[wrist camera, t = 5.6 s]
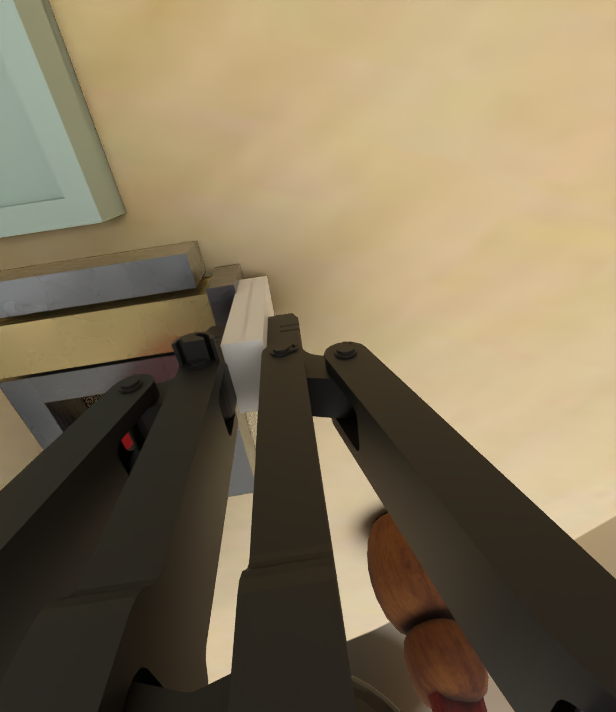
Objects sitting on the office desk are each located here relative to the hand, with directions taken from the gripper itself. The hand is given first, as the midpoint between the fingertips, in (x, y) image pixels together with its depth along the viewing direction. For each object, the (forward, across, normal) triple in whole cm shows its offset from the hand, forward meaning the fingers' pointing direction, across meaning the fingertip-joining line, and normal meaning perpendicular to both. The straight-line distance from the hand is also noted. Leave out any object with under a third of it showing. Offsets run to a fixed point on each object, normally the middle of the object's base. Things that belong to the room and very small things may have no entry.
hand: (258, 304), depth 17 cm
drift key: (+1, -7, 0) cm, 7 cm away
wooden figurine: (+2, +7, -22) cm, 23 cm away
